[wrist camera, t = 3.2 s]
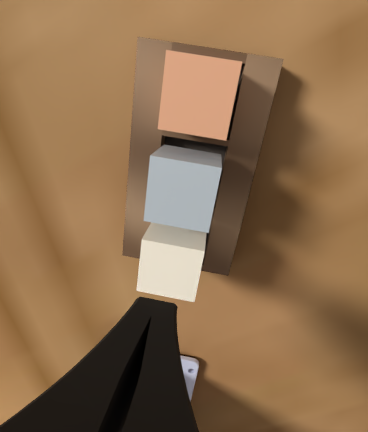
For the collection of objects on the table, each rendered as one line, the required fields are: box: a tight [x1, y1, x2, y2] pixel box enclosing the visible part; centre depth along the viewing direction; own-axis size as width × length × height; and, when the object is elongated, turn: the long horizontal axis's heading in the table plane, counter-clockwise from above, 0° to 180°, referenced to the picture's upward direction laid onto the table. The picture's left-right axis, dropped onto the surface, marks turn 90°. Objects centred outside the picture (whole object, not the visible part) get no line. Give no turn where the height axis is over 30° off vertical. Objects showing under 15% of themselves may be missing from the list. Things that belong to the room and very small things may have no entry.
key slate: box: [144, 145, 222, 233], centre depth 12 cm, size 3×3×3 cm
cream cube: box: [137, 222, 206, 302], centre depth 14 cm, size 3×3×3 cm
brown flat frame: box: [122, 37, 283, 275], centre depth 15 cm, size 12×7×1 cm, turn 172°
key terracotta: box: [158, 50, 242, 141], centre depth 12 cm, size 3×3×3 cm
